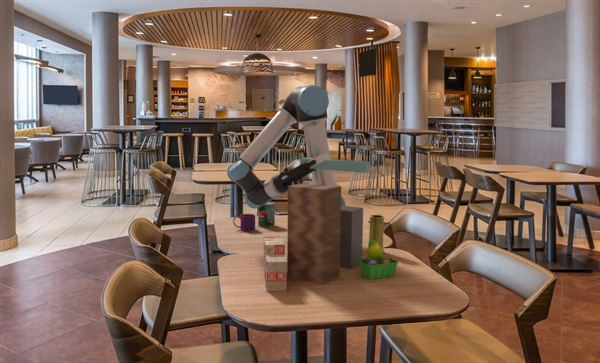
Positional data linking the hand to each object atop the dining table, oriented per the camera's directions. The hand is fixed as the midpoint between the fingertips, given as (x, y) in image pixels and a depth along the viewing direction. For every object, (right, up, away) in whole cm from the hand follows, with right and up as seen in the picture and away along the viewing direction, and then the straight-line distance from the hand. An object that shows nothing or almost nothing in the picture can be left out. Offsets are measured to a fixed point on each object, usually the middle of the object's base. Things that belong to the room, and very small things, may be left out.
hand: (326, 156), depth 191 cm
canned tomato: (-25, -30, +64) cm, 75 cm away
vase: (+20, -37, +17) cm, 45 cm away
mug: (-35, -31, +55) cm, 72 cm away
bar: (+3, -5, -1) cm, 6 cm away
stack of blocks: (-18, -41, -20) cm, 49 cm away
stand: (-5, -40, -16) cm, 43 cm away
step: (+5, -38, +1) cm, 38 cm away
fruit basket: (+16, -40, -13) cm, 45 cm away
